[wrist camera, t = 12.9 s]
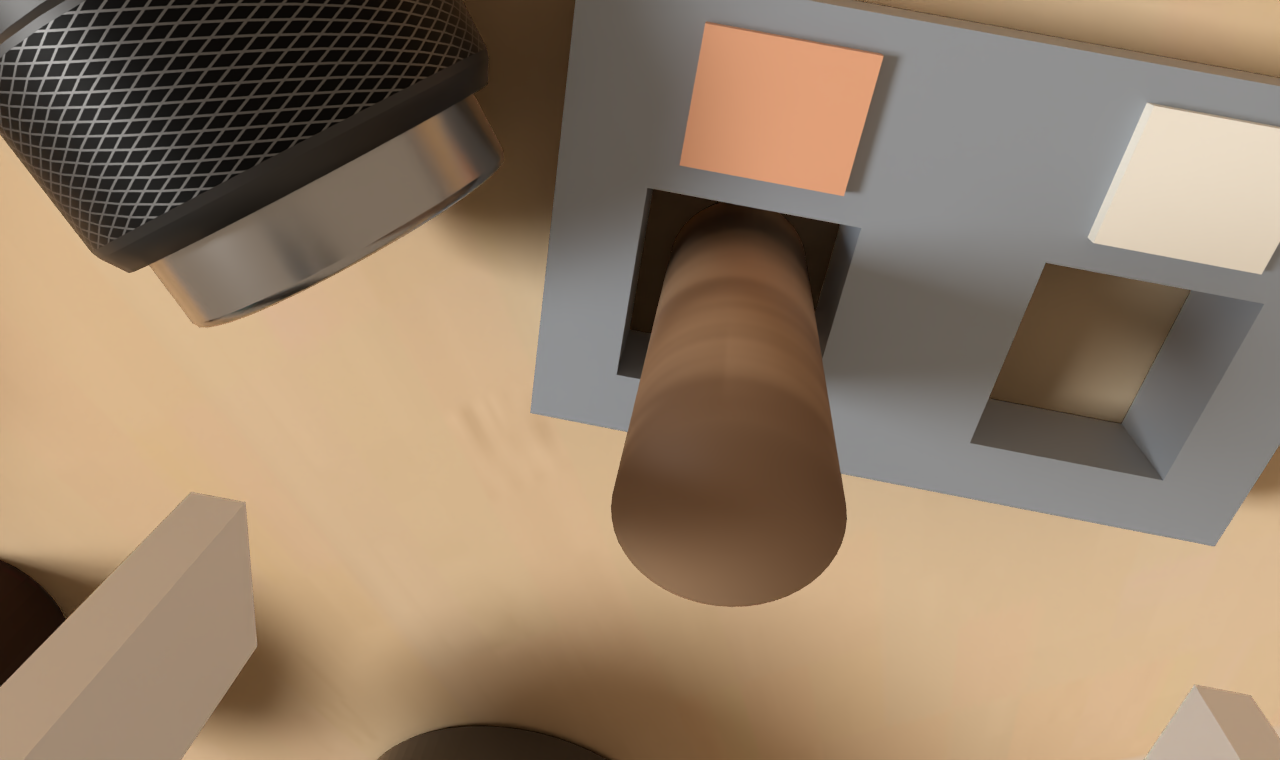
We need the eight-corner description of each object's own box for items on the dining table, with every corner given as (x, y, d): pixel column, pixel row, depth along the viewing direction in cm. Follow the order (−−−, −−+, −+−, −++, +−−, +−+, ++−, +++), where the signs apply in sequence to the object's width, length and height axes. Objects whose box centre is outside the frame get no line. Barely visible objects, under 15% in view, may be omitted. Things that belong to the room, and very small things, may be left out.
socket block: (1168, 485, 27) (1221, 555, 24) (551, 365, 27) (527, 420, 24) (1392, 98, 21) (1499, 128, 18) (600, -47, 21) (577, -41, 18)
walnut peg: (786, 340, 26) (810, 626, 15) (658, 313, 26) (595, 580, 15) (821, 216, 24) (877, 447, 13) (683, 187, 24) (631, 395, 13)
